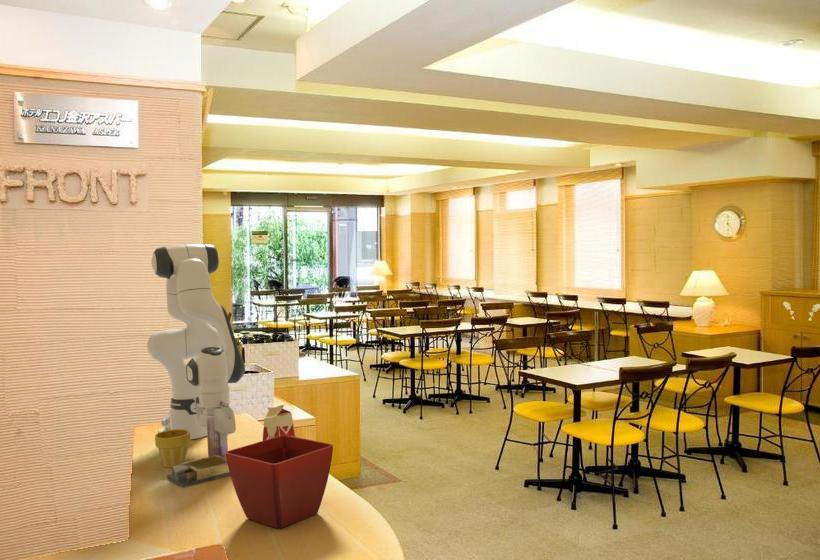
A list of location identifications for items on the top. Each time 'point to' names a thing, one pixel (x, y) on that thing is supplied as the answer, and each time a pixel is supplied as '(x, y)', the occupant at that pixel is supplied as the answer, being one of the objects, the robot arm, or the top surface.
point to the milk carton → (278, 423)
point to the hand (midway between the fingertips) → (217, 443)
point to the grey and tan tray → (199, 470)
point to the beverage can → (214, 439)
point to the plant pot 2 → (280, 478)
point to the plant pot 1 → (172, 446)
